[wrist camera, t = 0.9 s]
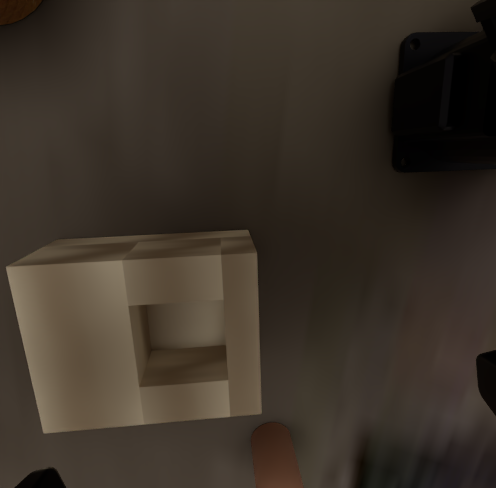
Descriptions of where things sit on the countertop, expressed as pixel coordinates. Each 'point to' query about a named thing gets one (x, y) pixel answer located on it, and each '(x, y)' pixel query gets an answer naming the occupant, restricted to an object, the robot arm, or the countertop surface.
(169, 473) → the countertop surface
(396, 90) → the robot arm
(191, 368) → the block
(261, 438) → the dowel
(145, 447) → the countertop surface
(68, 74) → the countertop surface
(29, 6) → the disposable coffee cup
